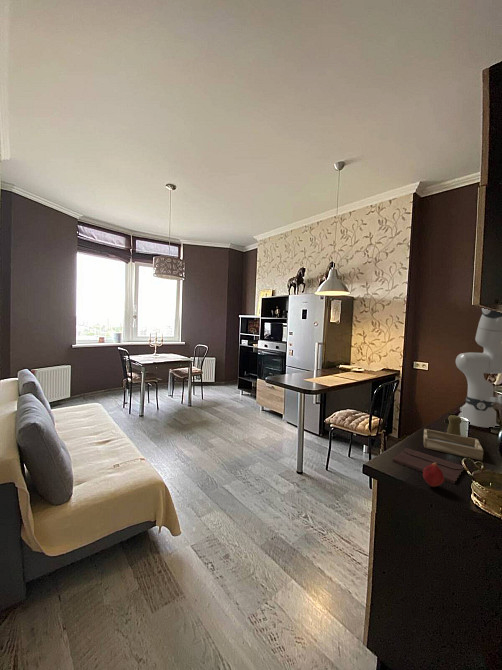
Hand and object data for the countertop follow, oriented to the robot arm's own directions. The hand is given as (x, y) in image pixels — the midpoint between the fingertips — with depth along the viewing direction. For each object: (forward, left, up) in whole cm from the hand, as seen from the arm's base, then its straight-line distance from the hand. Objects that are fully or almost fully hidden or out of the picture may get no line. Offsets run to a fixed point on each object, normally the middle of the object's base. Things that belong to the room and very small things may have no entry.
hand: (485, 399), depth 131 cm
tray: (+14, -13, -20) cm, 28 cm away
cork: (+1, -11, -21) cm, 23 cm away
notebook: (+39, -22, -21) cm, 49 cm away
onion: (+55, -21, -21) cm, 62 cm away
